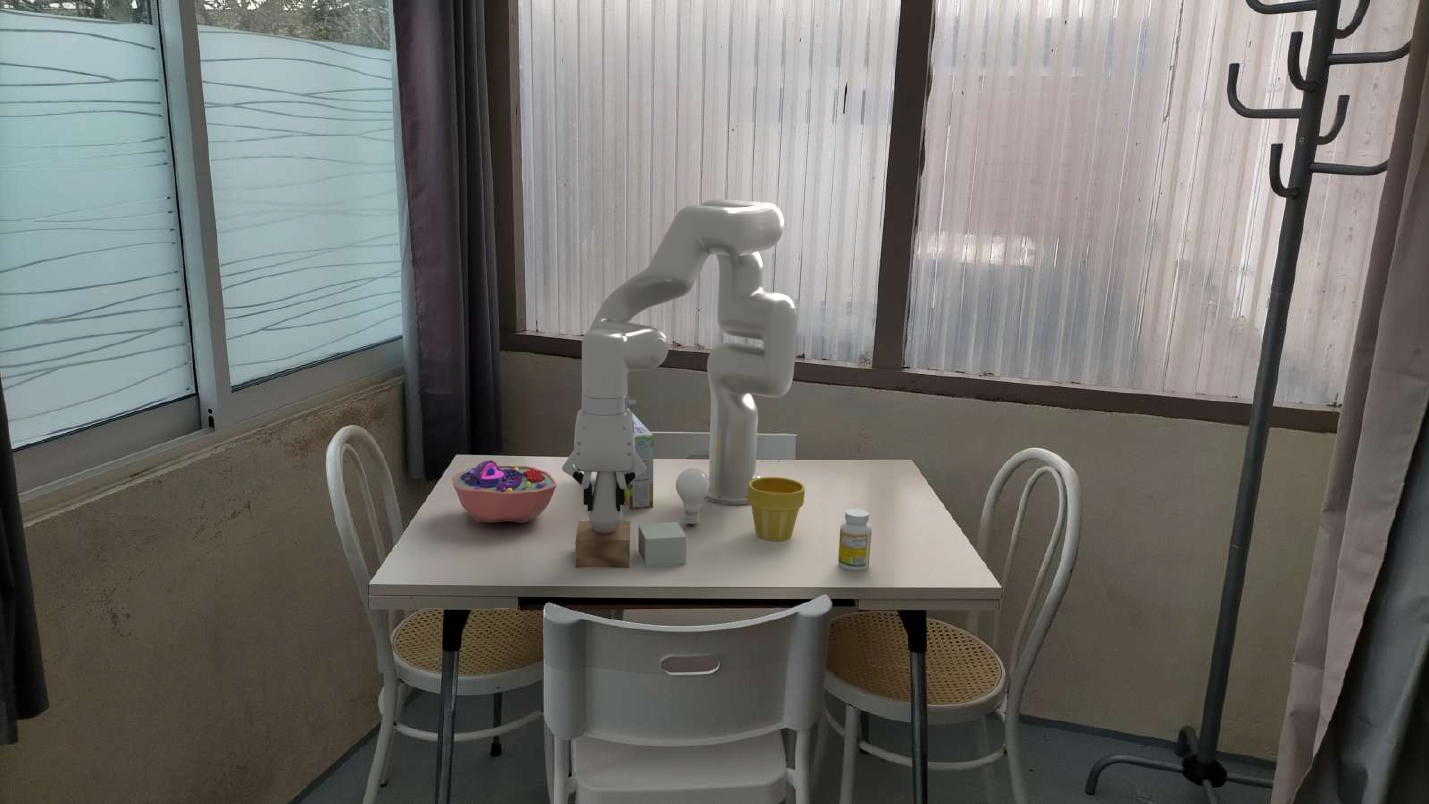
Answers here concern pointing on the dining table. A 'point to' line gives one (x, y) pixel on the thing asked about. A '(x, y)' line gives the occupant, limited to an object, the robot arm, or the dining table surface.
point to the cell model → (504, 492)
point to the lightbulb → (692, 492)
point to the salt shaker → (605, 504)
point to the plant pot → (775, 506)
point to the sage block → (662, 544)
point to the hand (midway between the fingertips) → (604, 507)
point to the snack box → (642, 485)
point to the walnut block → (602, 547)
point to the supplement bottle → (855, 540)
